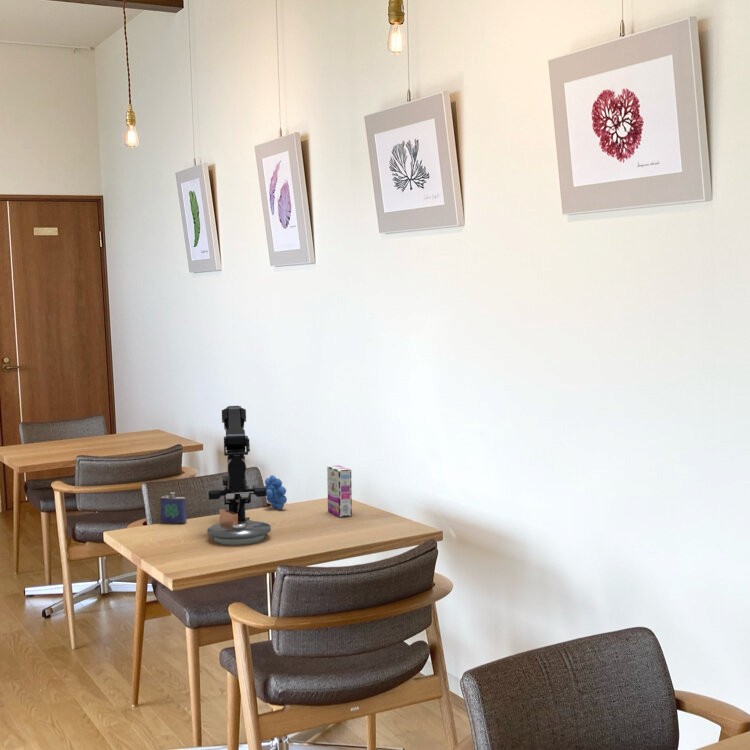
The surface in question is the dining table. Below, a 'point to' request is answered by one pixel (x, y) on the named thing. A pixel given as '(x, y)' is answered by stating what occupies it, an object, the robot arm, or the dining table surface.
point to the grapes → (275, 492)
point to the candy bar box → (339, 491)
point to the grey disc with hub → (237, 527)
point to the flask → (173, 509)
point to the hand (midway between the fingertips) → (237, 518)
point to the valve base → (239, 540)
